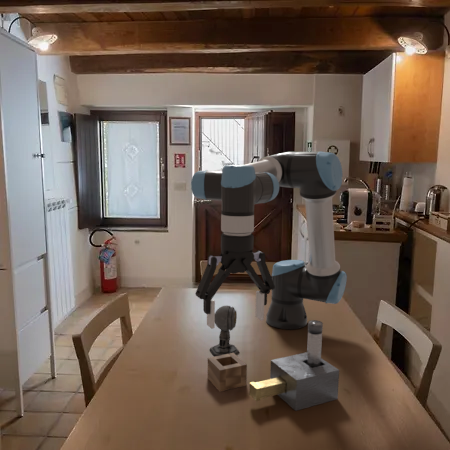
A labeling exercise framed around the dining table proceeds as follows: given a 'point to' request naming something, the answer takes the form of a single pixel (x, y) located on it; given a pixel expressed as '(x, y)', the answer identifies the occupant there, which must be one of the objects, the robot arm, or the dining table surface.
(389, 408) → the dining table surface
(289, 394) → the socket
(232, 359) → the open box
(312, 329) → the steel round rod
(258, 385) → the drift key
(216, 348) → the figurine
